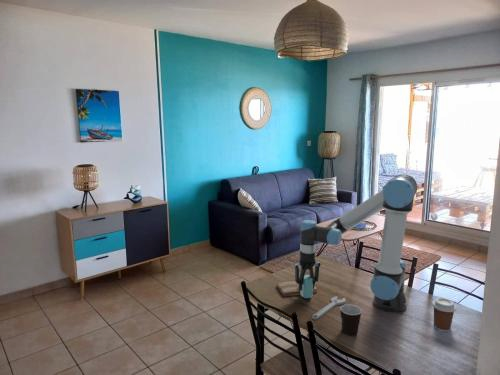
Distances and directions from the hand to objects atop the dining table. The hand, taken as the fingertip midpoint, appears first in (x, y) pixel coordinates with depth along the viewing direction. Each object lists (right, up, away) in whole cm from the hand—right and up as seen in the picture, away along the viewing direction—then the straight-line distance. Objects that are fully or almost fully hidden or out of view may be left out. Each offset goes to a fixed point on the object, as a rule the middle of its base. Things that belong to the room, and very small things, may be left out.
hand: (306, 295), depth 184 cm
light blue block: (-1, 0, +3) cm, 3 cm away
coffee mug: (+15, -7, -28) cm, 33 cm away
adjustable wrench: (+8, -4, -10) cm, 14 cm away
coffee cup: (+54, -6, -27) cm, 61 cm away
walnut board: (-4, 0, +9) cm, 10 cm away
